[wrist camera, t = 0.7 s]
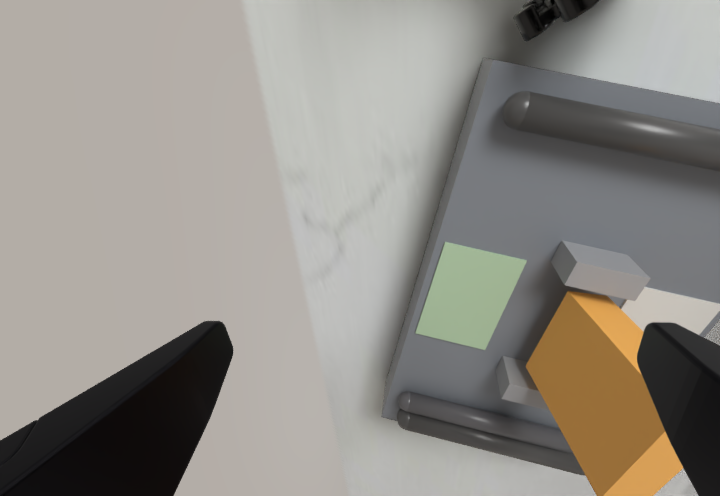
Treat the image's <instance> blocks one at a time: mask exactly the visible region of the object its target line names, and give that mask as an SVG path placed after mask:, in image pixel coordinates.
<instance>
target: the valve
mask: <svg viewBox="0 0 720 496" xmlns="http://www.w3.org/2000/svg"><path fill="white" fill-rule="evenodd" d="M599 1H601V0H529V1H528V2H527V3H526V4H525V5H524V6H523V9H522V10H521V11H519V12H518V13H517V14H516V15H515V16H514V21H515V23H516V25H517V27H518V29H519V31H520V33H521V35H522V37H523V39H524V40H525V41H529V40H531V39H533V38H534V37H536V36H538V35H539V34H541V33H542V32H544V31H545V30H547V29H548V28H549V27H550V26H552V25H553V24H554V23H555V21H556V19H557V18H559V17H560V16H561V18H562V20H563V22H568V21H571V20H573V19H575V18H576V17H578V16H580V15H581V14H583V13H584V12H586V11H588V10H589V9H590V8H592V7H593V6H595V5H596V4H597V3H598V2H599Z"/></svg>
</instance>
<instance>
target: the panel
mask: <svg viewBox="0 0 720 496" xmlns="http://www.w3.org/2000/svg"><path fill="white" fill-rule="evenodd" d="M568 291H571V292H580V293H589V294H597V295H606V296H608V297H609V298H610V299H611V300H612V301H613V302H614V303H615V304H616V305H617V306H618V307H619V308H620V309H621V310H622V311H623V312H624V313H625V314H626V315H627V316H628V317H629V318H630V319H631V320H632V321H633V322H634V323H635V324H636V325H637V326H638V327H639V328H640V329H641V330H642V331H643V332H644V329H645V327H646V325H647V324H649V323H652V322H671V323H676V324H678V325H680V326H682V327H684V328H686V329H688V330H690V331H692V332H694V333H696V334H698V335H700V336H702V337H703V338H704V337H705V336H706V334H707V333H708V332H709V331H710V330H711V329H712V328H713V326H714V325H715V324H716V323H717V322H718V321H719V319H720V103H715V102H709V101H704V100H699V99H694V98H689V97H684V96H678V95H673V94H668V93H663V92H658V91H653V90H647V89H642V88H637V87H632V86H627V85H622V84H617V83H611V82H606V81H601V80H596V79H591V78H586V77H580V76H575V75H570V74H565V73H560V72H555V71H549V70H544V69H539V68H534V67H529V66H524V65H518V64H513V63H508V62H503V61H498V60H492V59H486V58H483V60H482V63H481V67H480V70H479V73H478V77H477V80H476V83H475V87H474V90H473V93H472V97H471V100H470V103H469V107H468V110H467V113H466V117H465V120H464V123H463V127H462V130H461V133H460V137H459V140H458V143H457V147H456V150H455V153H454V157H453V160H452V163H451V167H450V170H449V173H448V177H447V180H446V183H445V187H444V190H443V193H442V197H441V200H440V203H439V207H438V210H437V213H436V217H435V220H434V223H433V227H432V230H431V233H430V237H429V240H428V243H427V247H426V250H425V253H424V257H423V260H422V263H421V267H420V270H419V273H418V277H417V280H416V283H415V287H414V290H413V293H412V297H411V300H410V303H409V307H408V310H407V313H406V317H405V320H404V323H403V327H402V330H401V333H400V337H399V340H398V343H397V347H396V350H395V353H394V357H393V360H392V363H391V367H390V370H389V373H388V377H387V380H386V385H385V393H384V401H383V409H382V417H383V418H387V419H391V420H395V421H397V422H398V424H399V426H400V427H401V428H403V429H405V430H409V431H413V432H417V433H420V434H424V435H428V436H432V437H436V438H440V439H444V440H448V441H451V442H455V443H459V444H463V445H467V446H471V447H475V448H478V449H482V450H486V451H490V452H494V453H498V454H502V455H506V456H509V457H513V458H517V459H521V460H525V461H529V462H533V463H537V464H540V465H544V466H548V467H552V468H556V469H560V470H564V471H567V472H571V473H575V474H579V475H585V473H584V471H583V470H582V468H581V466H580V464H579V462H578V461H577V459H576V457H575V455H574V453H573V451H572V450H571V448H570V446H569V444H568V442H567V441H566V439H565V437H564V435H563V433H562V432H561V430H560V428H559V426H558V424H557V423H556V421H555V419H554V417H553V415H552V413H551V412H550V410H549V408H548V406H547V404H546V403H545V401H544V399H543V397H542V395H541V394H540V392H539V390H538V388H537V386H536V384H535V383H534V381H533V379H532V377H531V375H530V374H529V372H528V370H527V368H526V364H527V362H528V361H529V359H530V357H531V355H532V354H533V352H534V350H535V348H536V347H537V345H538V343H539V341H540V339H541V338H542V336H543V334H544V332H545V331H546V329H547V327H548V325H549V324H550V322H551V320H552V318H553V316H554V315H555V313H556V311H557V309H558V308H559V306H560V304H561V302H562V301H563V299H564V297H565V295H566V293H567V292H568Z"/></svg>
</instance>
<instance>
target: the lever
mask: <svg viewBox="0 0 720 496" xmlns="http://www.w3.org/2000/svg"><path fill="white" fill-rule="evenodd" d="M642 336H643V331H642V330H641V329H640V328H639V327H638V326H637V325H636V324H635V323H634V322H633V321H632V320H631V319H630V318H629V317H628V316H627V315H626V314H625V313H624V312H623V311H622V310H621V309H620V308H619V307H618V306H617V305H616V304H615V303H614V302H613V301H612V300H611V299H610V298H609V297H608V296H606V295H597V294H589V293H580V292H571V291H568V292H567V293H566V295H565V297H564V299H563V301H562V302H561V304H560V306H559V308H558V309H557V311H556V313H555V315H554V316H553V318H552V320H551V322H550V324H549V325H548V327H547V329H546V331H545V332H544V334H543V336H542V338H541V339H540V341H539V343H538V345H537V347H536V348H535V350H534V352H533V354H532V355H531V357H530V359H529V361H528V362H527V364H526V368H527V370H528V372H529V374H530V375H531V377H532V379H533V381H534V383H535V384H536V386H537V388H538V390H539V392H540V394H541V395H542V397H543V399H544V401H545V403H546V404H547V406H548V408H549V410H550V412H551V413H552V415H553V417H554V419H555V421H556V423H557V424H558V426H559V428H560V430H561V432H562V433H563V435H564V437H565V439H566V441H567V442H568V444H569V446H570V448H571V450H572V451H573V453H574V455H575V457H576V459H577V461H578V462H579V464H580V466H581V468H582V470H583V471H584V473H585V475H586V477H587V479H588V480H589V482H590V484H591V486H592V488H593V490H594V491H595V493H596V495H597V496H653V495H654V494H655V493H656V492H657V491H659V490H660V489H661V488H662V487H663V486H664V485H665V484H666V483H667V482H668V481H670V480H671V479H672V478H673V477H674V476H675V475H676V474H677V473H678V472H679V471H681V470H682V469H683V466H682V464H681V462H680V461H679V459H678V457H677V455H676V453H675V451H674V449H673V447H672V445H671V443H670V441H669V439H668V436H667V434H666V432H665V430H664V427H663V425H662V422H661V420H660V418H659V415H658V413H657V410H656V408H655V405H654V403H653V401H652V398H651V396H650V393H649V391H648V389H647V386H646V384H645V381H644V379H643V376H642V374H641V372H640V369H639V367H638V363H637V353H638V349H639V346H640V342H641V339H642Z"/></svg>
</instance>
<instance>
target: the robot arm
mask: <svg viewBox="0 0 720 496" xmlns="http://www.w3.org/2000/svg"><path fill="white" fill-rule="evenodd" d="M232 356H233V346H232V343H231V341H230V338H229V335H228V332H227V330H226V327H225V325H224V324H223V323H222V322H220V321H205V322H203V323H201V324H199V325H198V326H196V327H194V328H192V329H191V330H189V331H187V332H185V333H184V334H182V335H180V336H179V337H177V338H175V339H173V340H172V341H170V342H169V343H167V344H165V345H163V346H162V347H160V348H158V349H156V350H155V351H153V352H151V353H150V354H148V355H146V356H144V357H143V358H141V359H140V360H138V361H136V362H134V363H133V364H131V365H129V366H127V367H126V368H124V369H122V370H120V371H119V372H117V373H116V374H114V375H112V376H110V377H109V378H107V379H105V380H104V381H102V382H100V383H98V384H97V385H95V386H93V387H92V388H90V389H88V390H87V391H85V392H83V393H81V394H79V395H78V396H76V397H74V398H73V399H71V400H69V401H68V402H66V403H64V404H62V405H61V406H59V407H57V408H56V409H54V410H52V411H51V412H49V413H47V414H45V415H44V416H42V417H40V418H39V420H38V421H37V420H36V421H33V422H31V423H30V424H28V425H26V426H25V427H23V428H21V429H19V430H18V431H16V432H14V433H13V434H11V435H9V436H7V437H6V438H4V439H2V440H0V496H174V493H175V491H176V489H177V487H178V485H179V483H180V481H181V479H182V476H183V474H184V472H185V470H186V468H187V466H188V464H189V462H190V459H191V457H192V455H193V453H194V451H195V449H196V447H197V445H198V443H199V441H200V438H201V436H202V434H203V432H204V430H205V428H206V426H207V423H208V421H209V419H210V417H211V414H212V412H213V409H214V406H215V404H216V401H217V398H218V396H219V393H220V390H221V387H222V384H223V382H224V379H225V376H226V373H227V370H228V368H229V365H230V362H231V359H232ZM637 363H638V367H639V369H640V372H641V374H642V376H643V379H644V381H645V384H646V386H647V389H648V391H649V393H650V396H651V398H652V401H653V403H654V405H655V408H656V410H657V413H658V415H659V418H660V420H661V422H662V425H663V427H664V430H665V432H666V434H667V436H668V439H669V441H670V443H671V445H672V447H673V449H674V451H675V453H676V455H677V457H678V459H679V461H680V462H681V464H682V466H683V468H684V470H685V472H686V473H687V475H688V477H689V479H690V481H691V483H692V484H693V486H694V488H695V490H696V492H697V494H698V495H699V496H720V346H719V345H717V344H715V343H713V342H711V341H709V340H707V339H705V338H703V337H702V336H700V335H698V334H696V333H694V332H692V331H690V330H688V329H686V328H684V327H682V326H680V325H678V324H676V323H671V322H652V323H649V324H647V325H646V327H645V329H644V332H643V336H642V339H641V342H640V346H639V349H638V353H637Z"/></svg>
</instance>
